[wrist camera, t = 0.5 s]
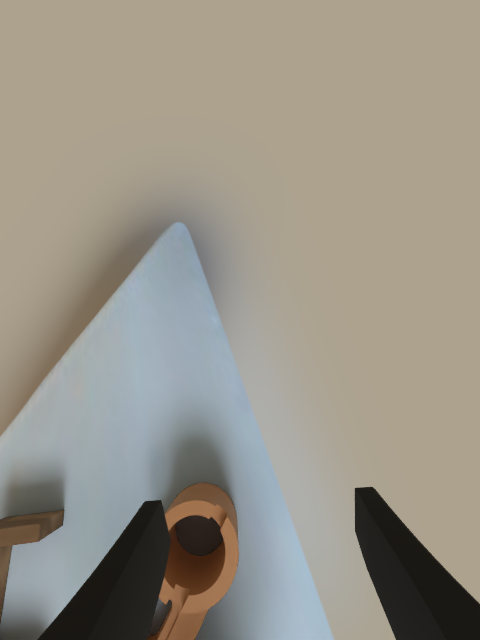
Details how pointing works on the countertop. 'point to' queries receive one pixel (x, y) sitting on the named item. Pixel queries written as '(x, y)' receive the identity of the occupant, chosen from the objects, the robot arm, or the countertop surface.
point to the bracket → (197, 563)
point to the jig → (23, 537)
